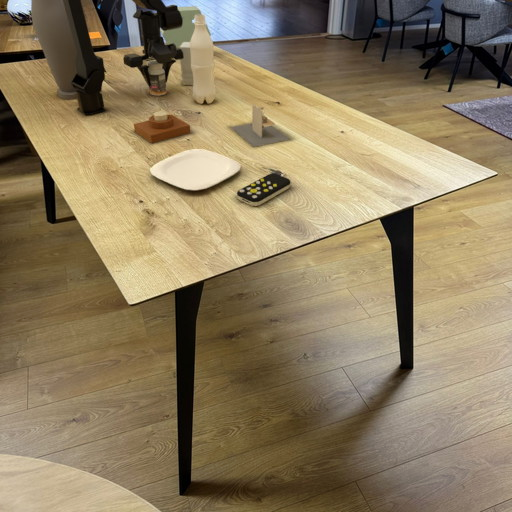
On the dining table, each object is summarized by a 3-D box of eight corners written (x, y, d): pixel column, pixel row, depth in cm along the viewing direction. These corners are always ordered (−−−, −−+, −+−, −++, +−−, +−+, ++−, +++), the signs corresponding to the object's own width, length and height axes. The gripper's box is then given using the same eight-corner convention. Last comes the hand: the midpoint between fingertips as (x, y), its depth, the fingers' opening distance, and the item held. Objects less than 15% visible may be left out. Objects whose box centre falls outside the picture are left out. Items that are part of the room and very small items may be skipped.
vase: (94, 97, 155) (69, -27, 134) (52, 102, 151) (19, -25, 130) (89, 85, 165) (65, -32, 144) (50, 90, 161) (19, -30, 140)
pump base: (151, 143, 126) (149, 128, 124) (134, 131, 133) (132, 117, 130) (190, 132, 132) (189, 118, 130) (172, 121, 139) (171, 108, 136)
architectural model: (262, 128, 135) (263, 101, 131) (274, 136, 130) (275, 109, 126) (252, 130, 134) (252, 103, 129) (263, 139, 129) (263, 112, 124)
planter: (189, 63, 204) (213, 18, 196) (193, 68, 198) (218, 21, 190) (153, 42, 195) (177, -7, 187) (156, 47, 189) (180, -3, 181)
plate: (196, 150, 123) (195, 144, 122) (250, 171, 114) (250, 164, 112) (141, 175, 111) (140, 169, 110) (196, 200, 102) (195, 194, 101)
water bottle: (212, 106, 149) (208, 18, 134) (190, 104, 150) (183, 17, 135) (218, 98, 155) (215, 13, 140) (197, 97, 156) (191, 12, 141)
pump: (158, 123, 128) (157, 116, 127) (152, 119, 131) (151, 112, 130) (170, 120, 130) (169, 113, 129) (163, 116, 132) (163, 110, 131)
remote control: (293, 187, 107) (293, 179, 106) (255, 208, 100) (255, 200, 99) (272, 178, 111) (272, 170, 109) (234, 198, 103) (233, 190, 102)
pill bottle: (146, 94, 158) (142, 63, 152) (156, 89, 162) (153, 59, 156) (160, 97, 156) (156, 65, 150) (170, 92, 160) (167, 61, 154)
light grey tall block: (206, 79, 171) (204, 41, 164) (202, 85, 165) (200, 47, 158) (186, 78, 172) (183, 41, 164) (182, 85, 166) (178, 46, 158)
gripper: (135, 42, 138) (142, 96, 147) (190, 33, 147) (194, 85, 157) (118, 35, 145) (126, 87, 154) (172, 27, 154) (177, 77, 164)
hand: (157, 84), depth 157 cm, fingers closed on pill bottle, 6 cm apart
